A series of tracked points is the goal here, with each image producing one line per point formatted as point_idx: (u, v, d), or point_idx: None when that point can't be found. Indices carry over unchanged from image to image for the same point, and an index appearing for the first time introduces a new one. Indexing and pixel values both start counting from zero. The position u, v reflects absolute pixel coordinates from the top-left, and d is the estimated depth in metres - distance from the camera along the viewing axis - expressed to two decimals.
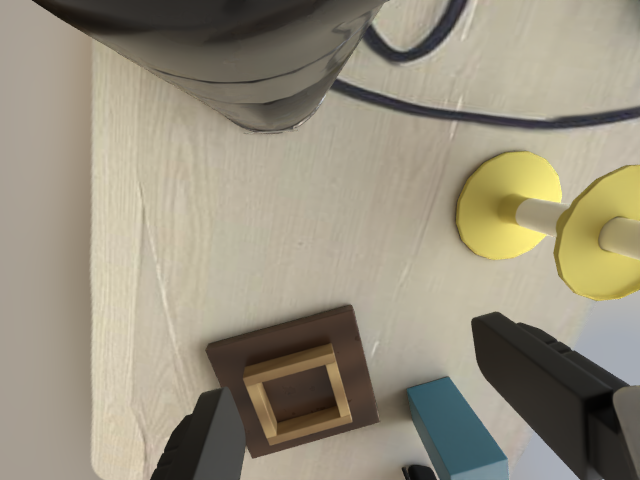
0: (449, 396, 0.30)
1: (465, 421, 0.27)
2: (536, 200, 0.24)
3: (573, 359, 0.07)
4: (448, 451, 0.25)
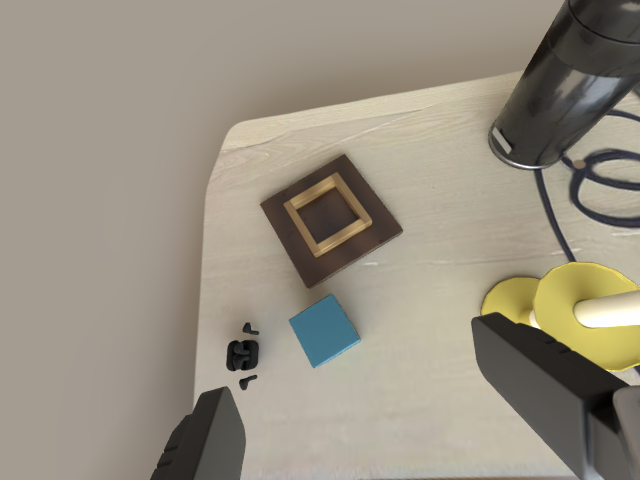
0: None
1: None
2: None
3: (573, 359, 0.07)
4: (338, 303, 0.29)
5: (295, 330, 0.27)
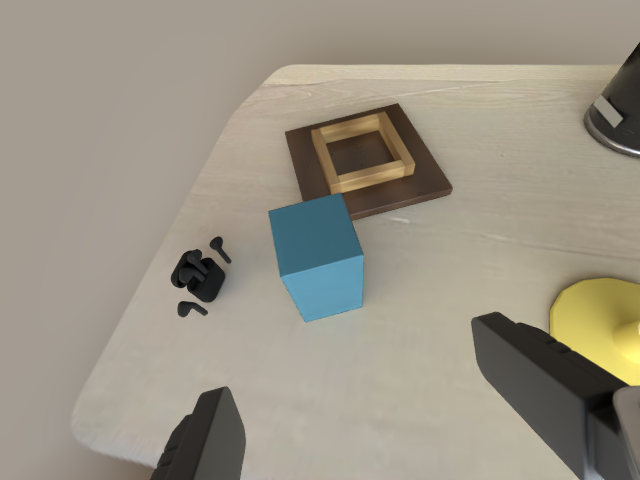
0: None
1: None
2: None
3: (573, 359, 0.07)
4: None
5: (273, 224, 0.18)
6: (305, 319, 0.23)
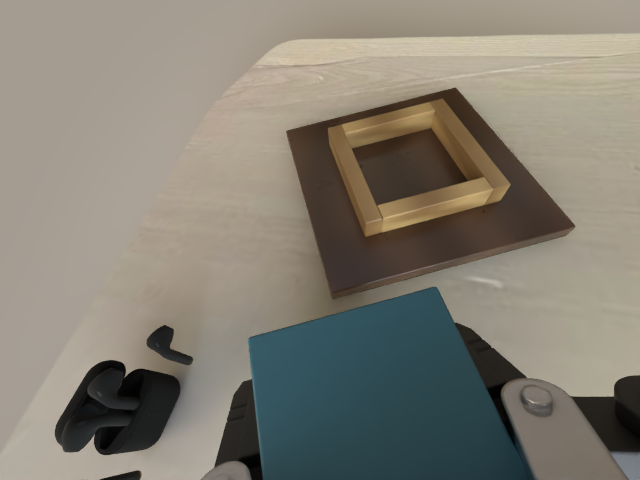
0: None
1: None
2: None
3: (489, 356, 0.08)
4: None
5: (259, 387, 0.07)
6: None
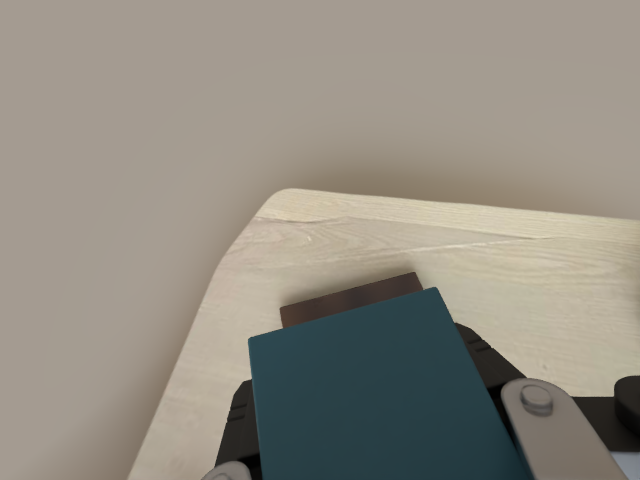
0: None
1: None
2: None
3: (489, 355, 0.08)
4: None
5: (259, 388, 0.07)
6: None
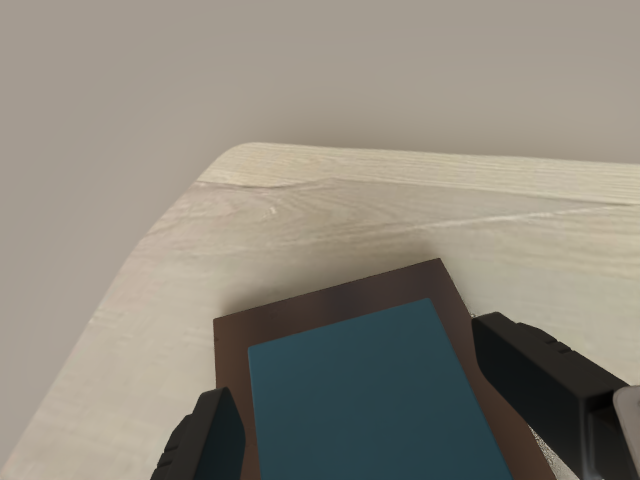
0: None
1: None
2: None
3: (573, 359, 0.07)
4: None
5: (258, 396, 0.07)
6: None
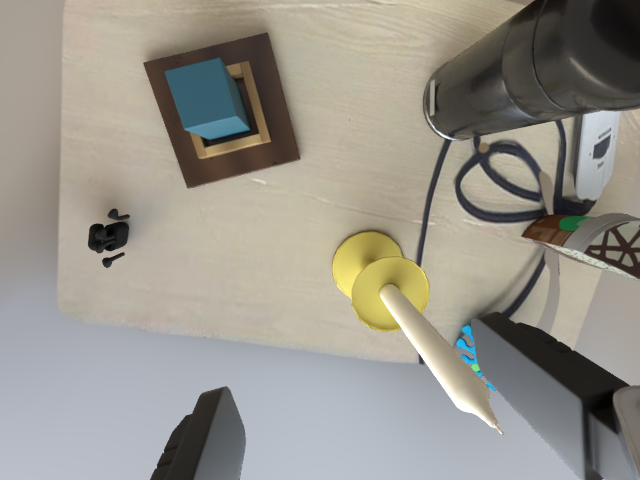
0: (245, 116, 0.32)
1: (240, 110, 0.29)
2: None
3: (573, 359, 0.07)
4: (227, 74, 0.27)
5: (170, 85, 0.25)
6: (210, 139, 0.34)
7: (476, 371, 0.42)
